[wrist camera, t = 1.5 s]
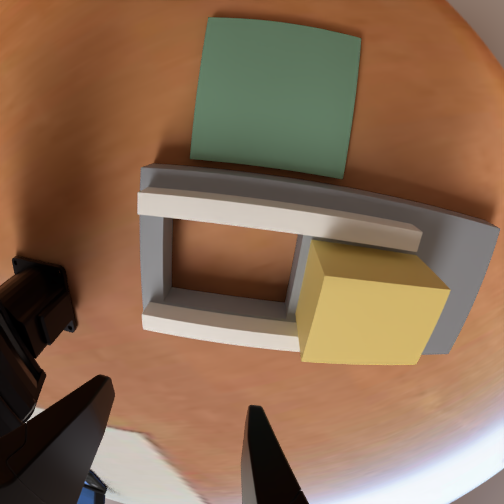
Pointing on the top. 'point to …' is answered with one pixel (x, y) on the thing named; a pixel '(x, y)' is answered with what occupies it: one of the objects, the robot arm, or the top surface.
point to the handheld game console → (92, 491)
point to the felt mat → (275, 96)
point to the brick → (366, 306)
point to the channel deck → (308, 228)
